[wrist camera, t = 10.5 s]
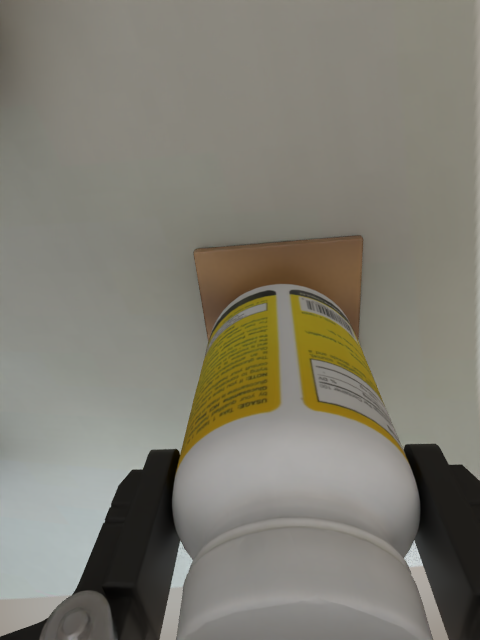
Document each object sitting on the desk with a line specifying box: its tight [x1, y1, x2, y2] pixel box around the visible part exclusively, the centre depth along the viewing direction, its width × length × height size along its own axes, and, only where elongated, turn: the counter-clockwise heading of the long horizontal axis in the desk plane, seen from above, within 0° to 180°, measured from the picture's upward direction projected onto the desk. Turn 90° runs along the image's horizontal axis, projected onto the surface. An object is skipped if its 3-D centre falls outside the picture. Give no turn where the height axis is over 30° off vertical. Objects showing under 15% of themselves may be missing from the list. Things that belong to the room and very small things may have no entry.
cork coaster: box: [194, 235, 363, 342], centre depth 19 cm, size 8×8×1 cm
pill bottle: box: [172, 284, 433, 640], centre depth 12 cm, size 6×6×11 cm
